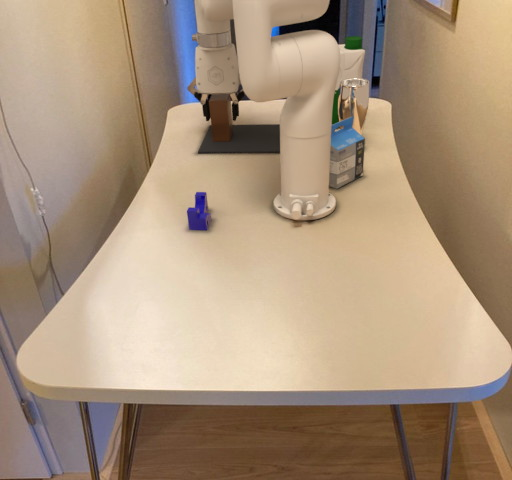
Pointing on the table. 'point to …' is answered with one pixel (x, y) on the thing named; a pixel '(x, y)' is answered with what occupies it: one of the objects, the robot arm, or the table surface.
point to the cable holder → (199, 213)
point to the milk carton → (348, 67)
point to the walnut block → (221, 117)
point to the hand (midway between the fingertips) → (221, 118)
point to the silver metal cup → (353, 101)
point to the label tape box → (345, 154)
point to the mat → (245, 140)
